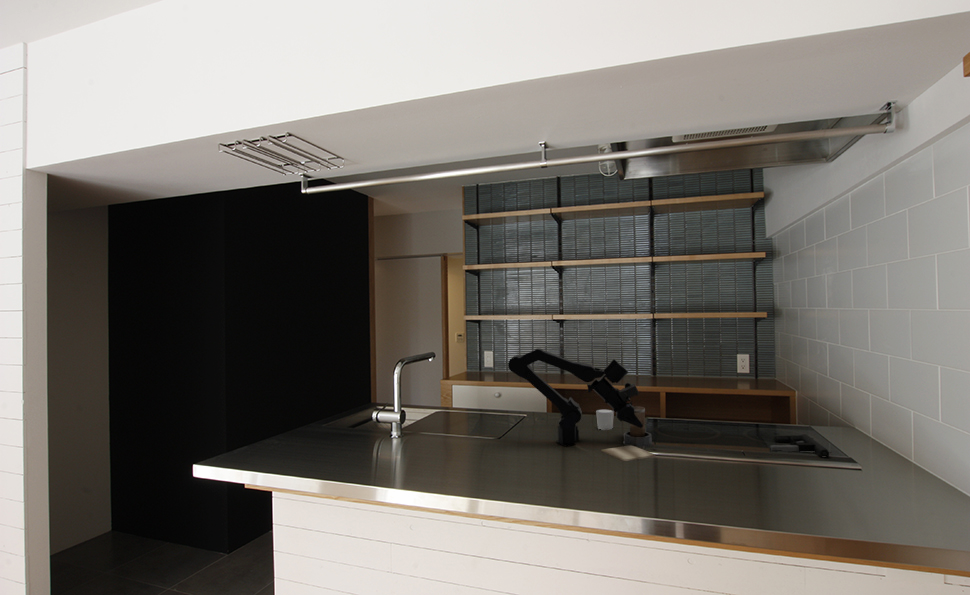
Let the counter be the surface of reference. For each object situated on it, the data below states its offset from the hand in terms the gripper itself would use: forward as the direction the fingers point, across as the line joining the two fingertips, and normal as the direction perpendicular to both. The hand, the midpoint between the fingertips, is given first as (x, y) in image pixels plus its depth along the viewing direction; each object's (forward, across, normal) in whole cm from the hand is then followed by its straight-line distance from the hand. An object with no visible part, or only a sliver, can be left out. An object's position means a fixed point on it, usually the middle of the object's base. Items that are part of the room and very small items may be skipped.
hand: (641, 425), depth 181 cm
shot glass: (-3, +23, +13) cm, 27 cm away
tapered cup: (+3, 0, +5) cm, 6 cm away
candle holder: (+4, 0, +6) cm, 7 cm away
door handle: (+40, +2, -30) cm, 50 cm away
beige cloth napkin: (+1, -14, +9) cm, 16 cm away
